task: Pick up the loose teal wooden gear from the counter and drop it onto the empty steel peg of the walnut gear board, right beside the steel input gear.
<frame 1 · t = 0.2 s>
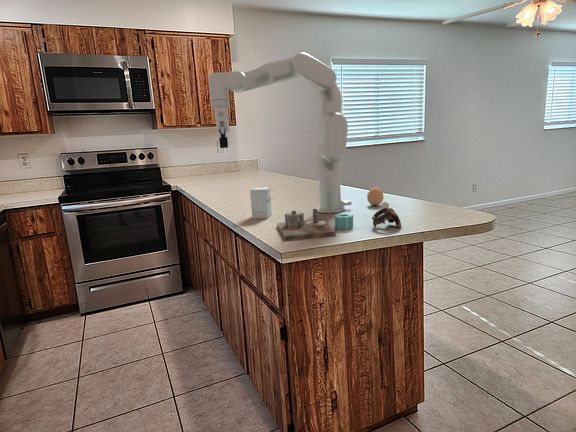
hand: (224, 147, 165), 31 cm above the worktop, tool pointing down, fingers open, 9 cm apart
teal gear: (344, 227, 147), on the worktop
brown arched figurine: (387, 227, 145), on the worktop
supplement box: (262, 217, 174), on the worktop
pacifier: (385, 218, 159), on the worktop
egg: (375, 206, 183), on the worktop
gear board: (304, 230, 145), on the worktop
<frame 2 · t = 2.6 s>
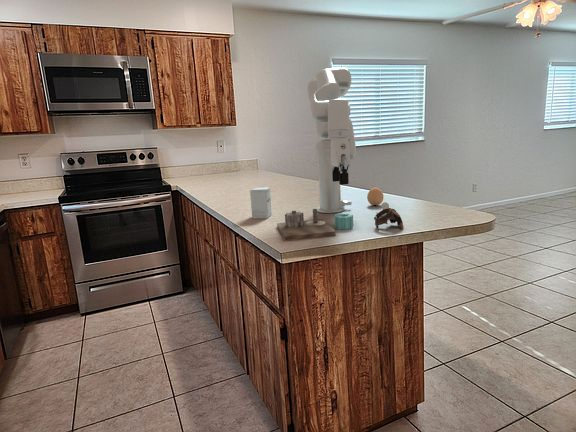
hand: (340, 182, 144), 17 cm above the worktop, tool pointing down, fingers open, 9 cm apart
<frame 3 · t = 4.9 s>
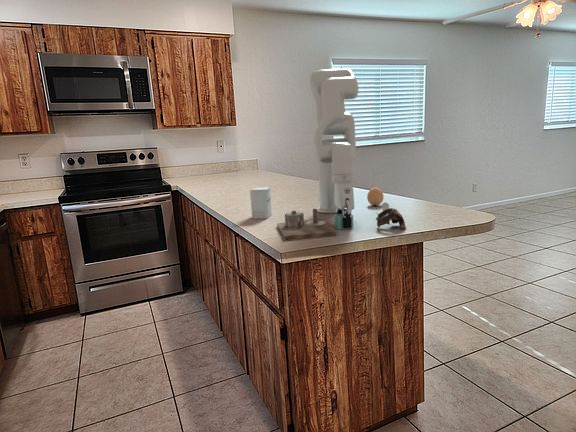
hand: (344, 225, 147), 1 cm above the worktop, tool pointing down, fingers closed on teal gear, 6 cm apart
teal gear: (344, 227, 147), on the worktop, touching gripper
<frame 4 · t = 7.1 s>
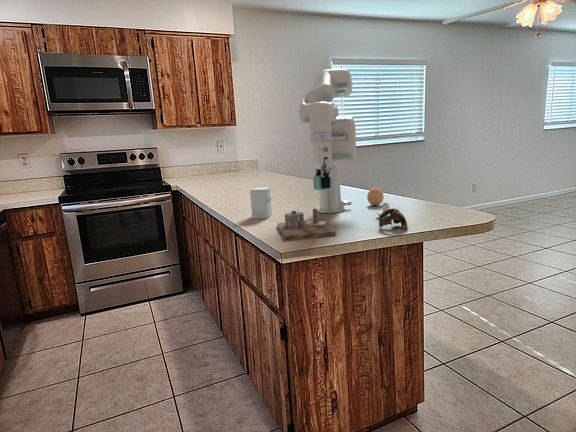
hand: (322, 186, 146), 16 cm above the worktop, tool pointing down, fingers closed on teal gear, 6 cm apart
teal gear: (323, 188, 146), point 15 cm above the worktop, touching gripper
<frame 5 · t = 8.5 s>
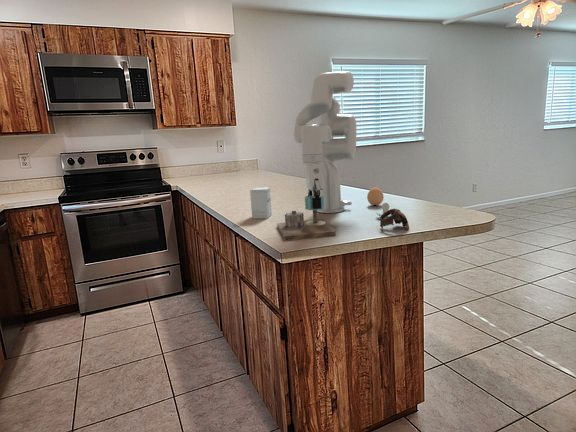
hand: (314, 206, 148), 8 cm above the worktop, tool pointing down, fingers closed on teal gear, 6 cm apart
teal gear: (314, 208, 148), point 7 cm above the worktop, touching gripper
when the fingers open (5 cm above the worktop, at t = 9.7 s): teal gear drops 2 cm, resting on gear board.
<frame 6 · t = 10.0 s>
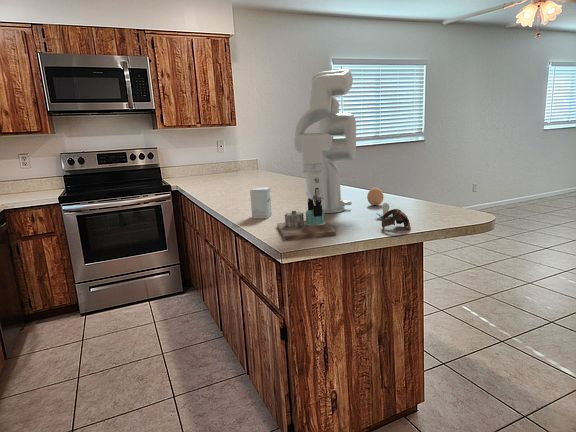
hand: (315, 213, 149), 5 cm above the worktop, tool pointing down, fingers open, 9 cm apart
teal gear: (315, 222, 150), point 2 cm above the worktop, touching gear board
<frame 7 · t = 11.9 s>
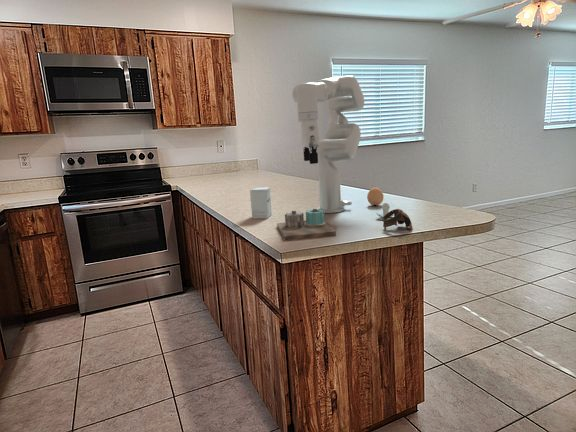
hand: (310, 162, 154), 24 cm above the worktop, tool pointing down, fingers open, 9 cm apart
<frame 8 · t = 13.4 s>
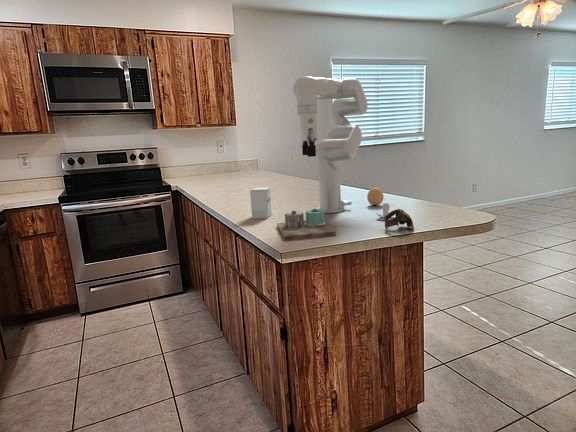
hand: (309, 155, 155), 26 cm above the worktop, tool pointing down, fingers open, 9 cm apart
at the end: teal gear 0.1 cm from the target spot on the gear board, point 1.7 cm above the gear board's base; teal gear tilted 0° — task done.
